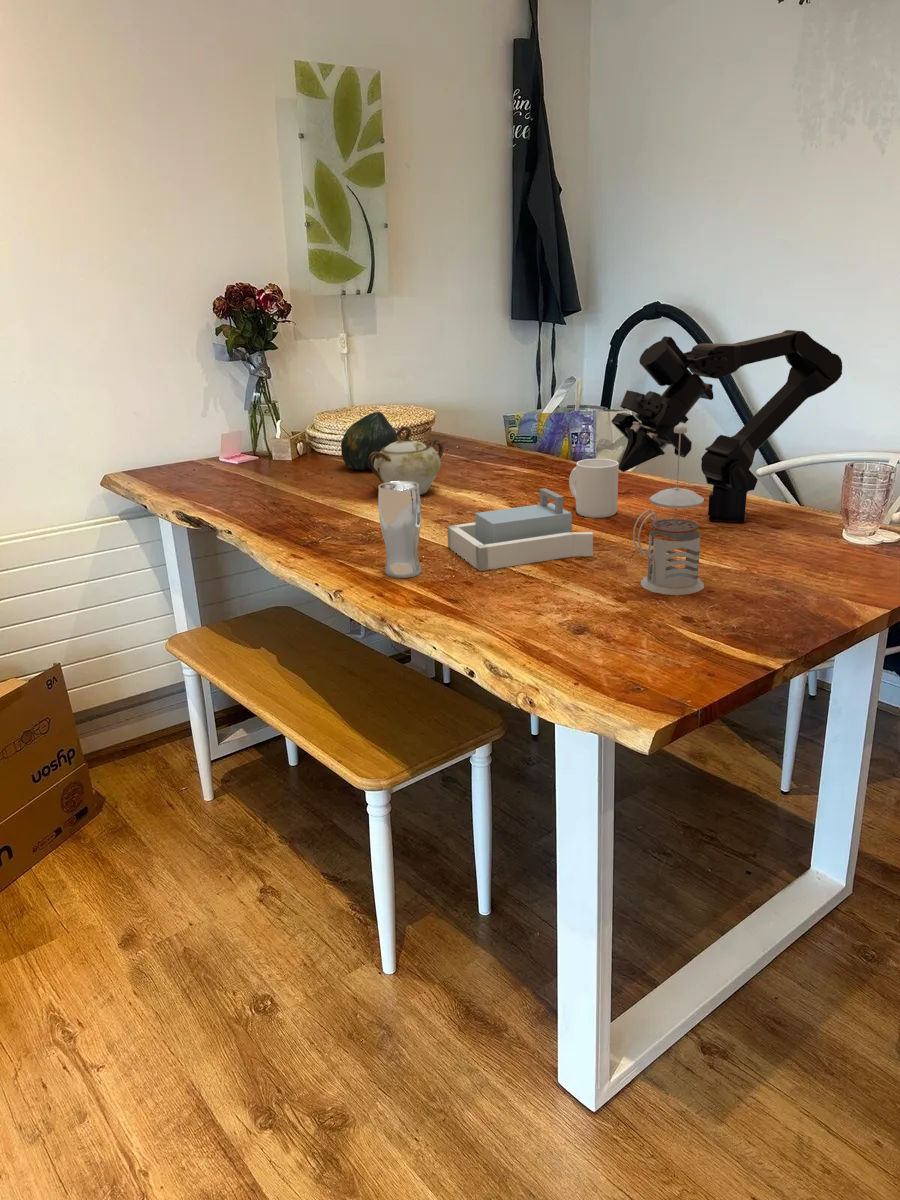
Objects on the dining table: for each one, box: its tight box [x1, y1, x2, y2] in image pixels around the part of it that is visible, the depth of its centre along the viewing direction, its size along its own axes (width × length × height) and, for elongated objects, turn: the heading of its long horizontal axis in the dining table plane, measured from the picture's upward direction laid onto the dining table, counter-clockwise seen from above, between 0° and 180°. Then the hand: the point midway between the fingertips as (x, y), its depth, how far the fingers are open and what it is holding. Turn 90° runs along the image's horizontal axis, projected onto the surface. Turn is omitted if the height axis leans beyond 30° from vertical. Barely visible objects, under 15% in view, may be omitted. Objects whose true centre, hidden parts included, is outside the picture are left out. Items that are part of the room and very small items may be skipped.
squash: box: [340, 411, 398, 471], centre depth 229 cm, size 14×15×15 cm
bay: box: [446, 521, 594, 572], centre depth 160 cm, size 21×18×4 cm
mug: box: [568, 458, 620, 519], centre depth 182 cm, size 12×8×10 cm
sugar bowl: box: [368, 426, 444, 496], centre depth 202 cm, size 20×15×15 cm
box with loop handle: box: [474, 488, 573, 545], centre depth 160 cm, size 15×8×10 cm, turn 111°
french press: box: [632, 424, 705, 596], centre depth 137 cm, size 10×12×25 cm
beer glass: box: [377, 481, 422, 579], centre depth 149 cm, size 7×7×15 cm
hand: (620, 470), depth 163 cm, fingers closed
